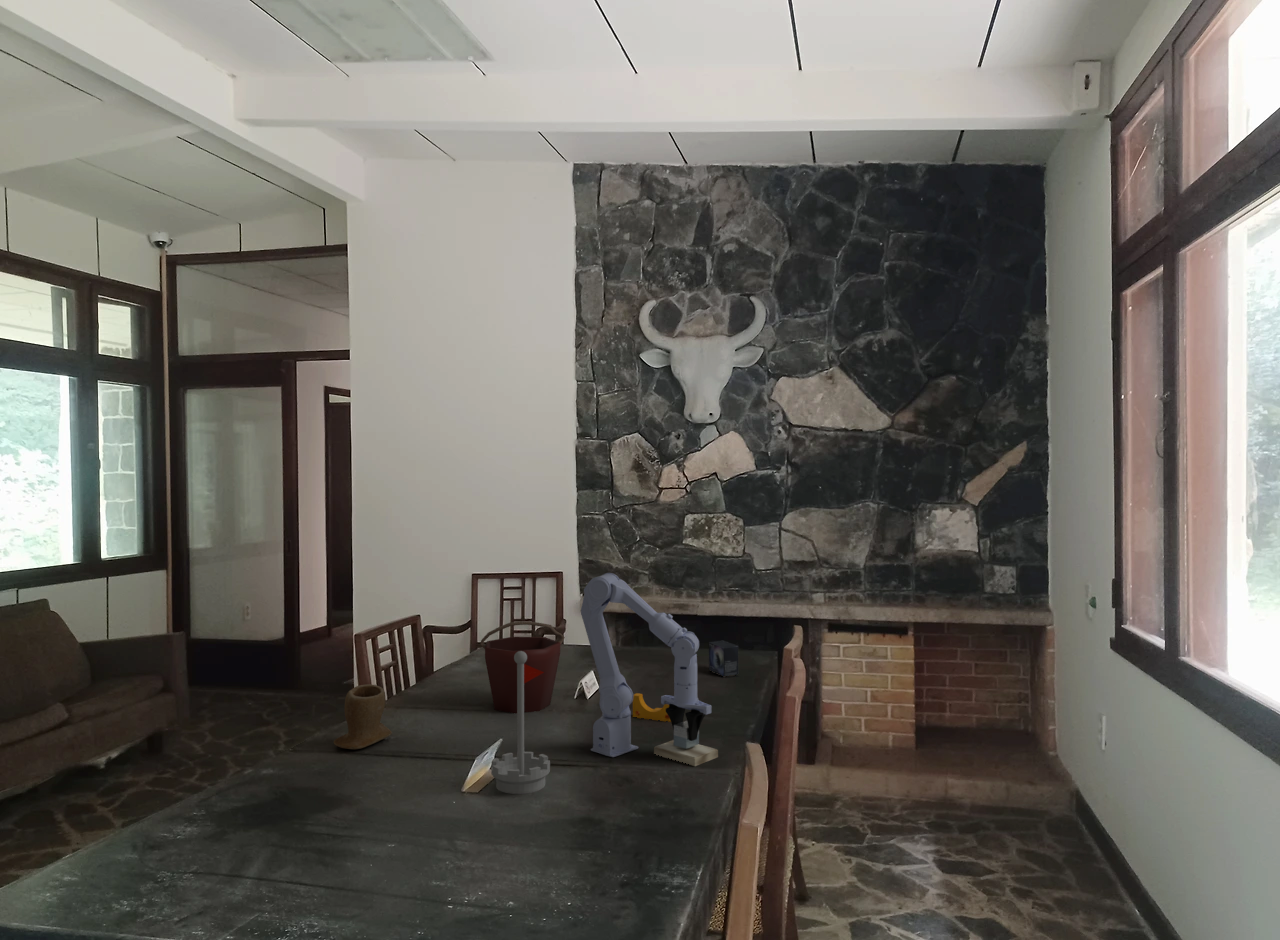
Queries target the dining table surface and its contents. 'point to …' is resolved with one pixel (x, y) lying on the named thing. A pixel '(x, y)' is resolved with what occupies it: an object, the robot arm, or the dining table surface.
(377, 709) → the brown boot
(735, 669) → the small box
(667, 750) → the cream flat block
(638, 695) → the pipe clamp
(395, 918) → the dining table surface
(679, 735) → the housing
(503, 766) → the flag stand
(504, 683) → the bucket
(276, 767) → the dining table surface
